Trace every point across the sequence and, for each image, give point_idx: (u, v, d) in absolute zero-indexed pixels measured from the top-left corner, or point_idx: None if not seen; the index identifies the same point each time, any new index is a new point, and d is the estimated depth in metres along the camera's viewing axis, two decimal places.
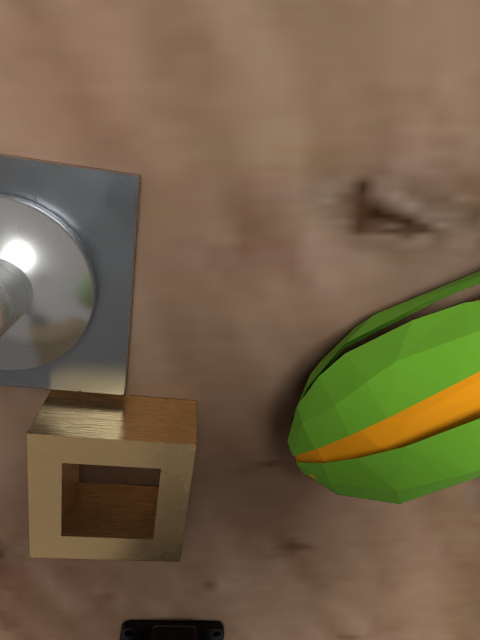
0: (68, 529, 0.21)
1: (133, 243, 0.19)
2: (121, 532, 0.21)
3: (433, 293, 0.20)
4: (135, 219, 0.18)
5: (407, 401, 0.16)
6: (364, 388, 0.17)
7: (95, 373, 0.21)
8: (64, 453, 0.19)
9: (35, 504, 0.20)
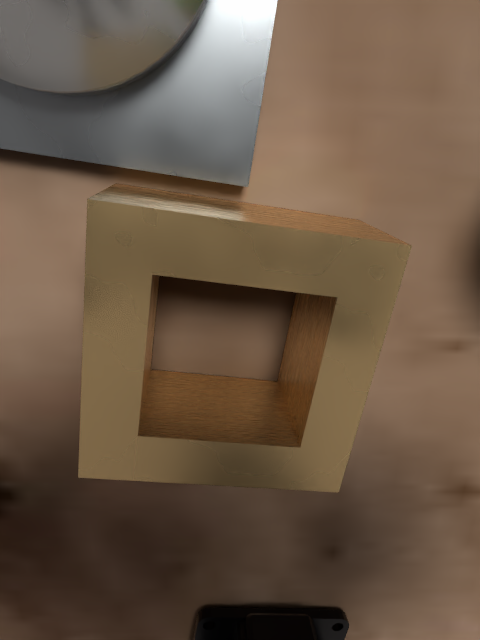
0: (148, 427, 0.12)
1: None
2: (241, 436, 0.12)
3: None
4: None
5: None
6: None
7: (202, 136, 0.11)
8: (159, 252, 0.09)
9: (96, 367, 0.10)
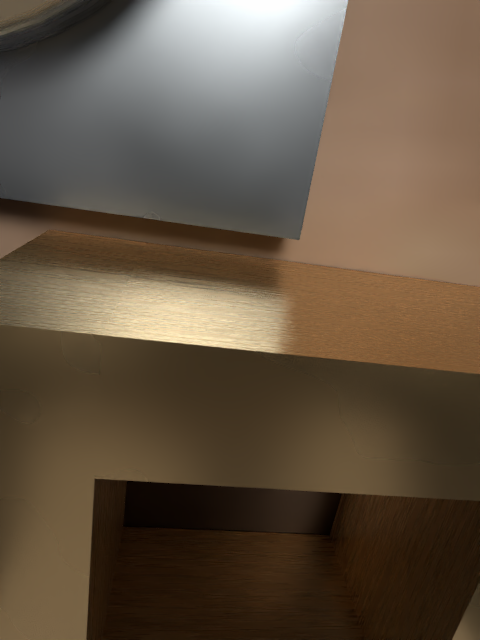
0: None
1: None
2: None
3: None
4: None
5: None
6: None
7: (211, 143, 0.06)
8: (109, 431, 0.04)
9: None
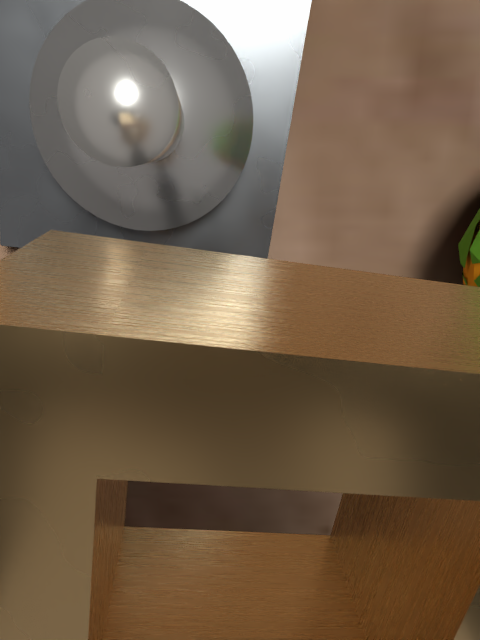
0: None
1: (297, 74, 0.16)
2: None
3: None
4: (303, 42, 0.15)
5: None
6: None
7: (234, 247, 0.17)
8: (112, 431, 0.04)
9: None
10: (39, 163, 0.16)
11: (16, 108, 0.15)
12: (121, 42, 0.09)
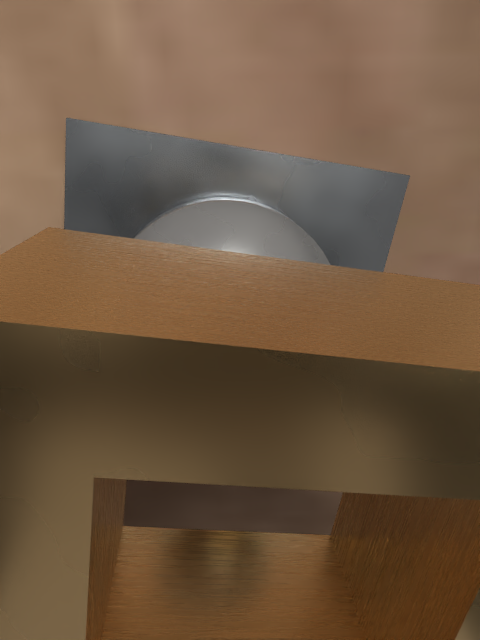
0: None
1: (384, 261, 0.14)
2: None
3: None
4: (392, 230, 0.14)
5: None
6: None
7: None
8: (109, 430, 0.04)
9: None
10: None
11: None
12: None
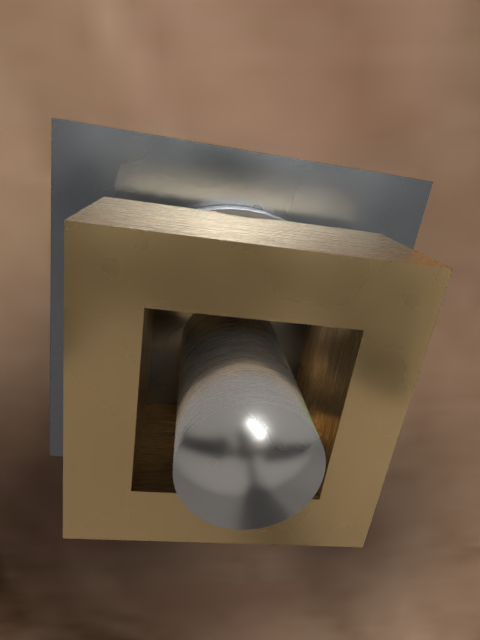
0: (143, 478, 0.10)
1: None
2: None
3: None
4: (412, 242, 0.13)
5: None
6: None
7: None
8: (152, 281, 0.08)
9: (80, 415, 0.09)
10: None
11: None
12: (262, 411, 0.07)
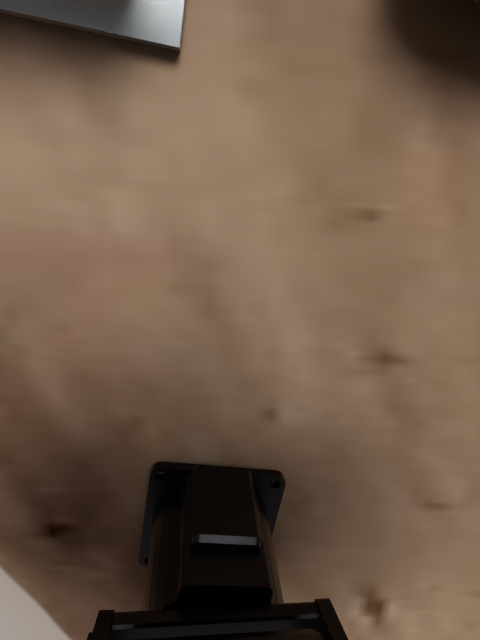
0: None
1: None
2: None
3: None
4: None
5: None
6: None
7: None
8: None
9: None
10: None
11: None
12: None
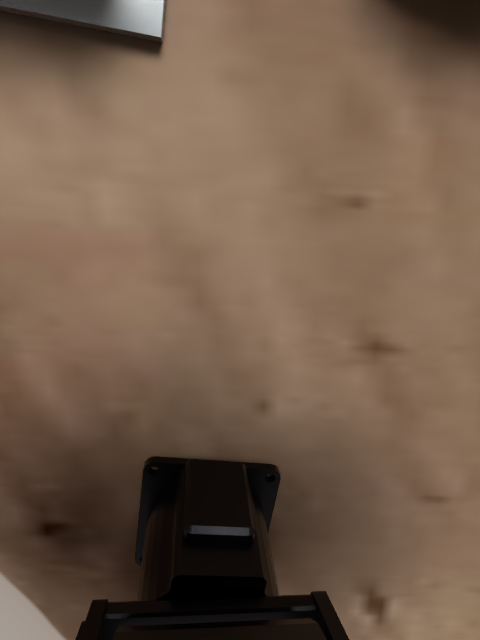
0: None
1: None
2: None
3: None
4: None
5: None
6: None
7: None
8: None
9: None
10: None
11: None
12: None
